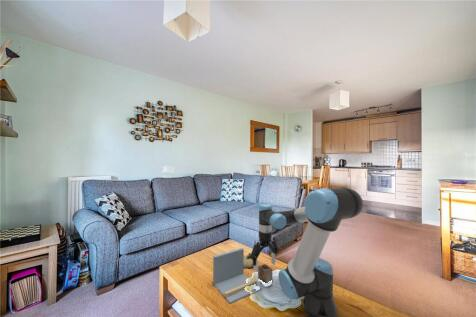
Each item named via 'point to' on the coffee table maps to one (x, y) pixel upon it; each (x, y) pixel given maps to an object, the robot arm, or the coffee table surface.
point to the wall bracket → (231, 275)
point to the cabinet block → (264, 273)
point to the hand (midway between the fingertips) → (264, 267)
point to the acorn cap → (248, 261)
